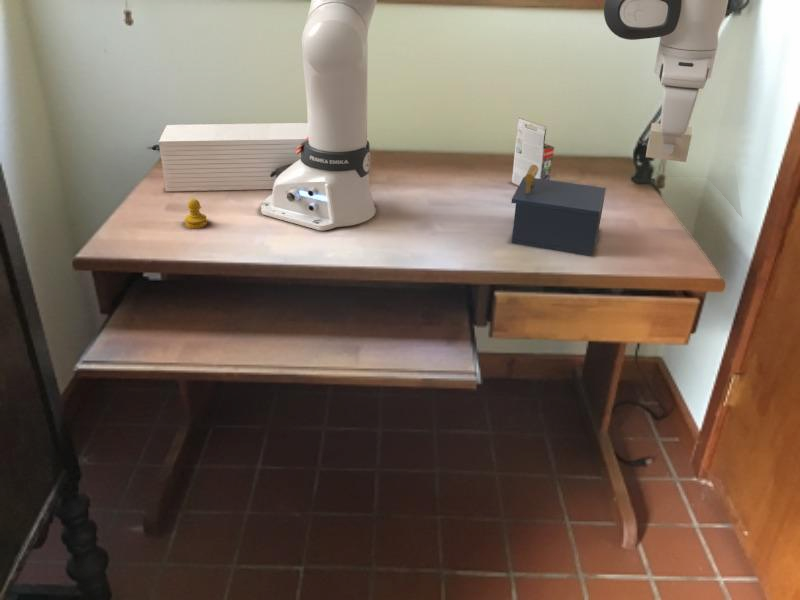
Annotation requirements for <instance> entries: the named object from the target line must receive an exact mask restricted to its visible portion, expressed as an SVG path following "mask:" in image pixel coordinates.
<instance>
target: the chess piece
mask: <svg viewBox="0 0 800 600" xmlns="http://www.w3.org/2000/svg"><path fill="white" fill-rule="evenodd" d="M201 208H202V206H201V203H200V201H199V200H198V199H197V198H192V199H190V200H189V201H188V203H187V210H189V213H188V215H186V216H185V217H184V222H185V226H186V228H189V229H201V228H204V227H205V226H207V224H208V220H207V215H206V214H204V213H201V212H200V209H201Z"/></svg>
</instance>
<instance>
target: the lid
mask: <svg viewBox="0 0 800 600" xmlns="http://www.w3.org/2000/svg"><path fill="white" fill-rule="evenodd" d="M537 172H538V167H537V166H536V165H532V166H530V168H529V170H528V172H527V174H526V176H525V177H523V179H522V181H521V183H520V185H519V186H517V189H516V190H515V193H514V194H513V196H512V198H511V204H515V205H516V204H522V205H529V206H536V207H543V208H550V209H556V210H563V211H570V212H577V213H584V214H590V215H597V216H599V214H600V210H601V206H602V203H603V199H604V200H605V197H604V195H605V196H606V191H607V187H603V186H602V187H601V186H594V185H587V184H582V183H581V184H580V183H575V182H574V183H573V182H565V181H560V180H559V181H558V180H551V179H550V180H544V179H537V178H535V176H536V174H537ZM603 204H604V203H603Z"/></svg>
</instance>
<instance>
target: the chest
mask: <svg viewBox="0 0 800 600" xmlns="http://www.w3.org/2000/svg"><path fill="white" fill-rule="evenodd" d="M605 196H606V194H605V195H604V199H603V203H602V206H601V210H600V214H599V216H597V215H590V214H584V213H577V212H570V211H563V210H556V209H550V208H543V207H536V206H529V205H522V204H516V203H515V207H514V217H513V226H512V234H511V235H512V236H511V244H516V245H521V246H528V247H534V248H539V249H547V250H554V251H559V252H565V253H571V254H576V255H583V256H590V257H592V256H593V255H594V250H595V246H596V243H597V239H598V235H599V231H600V226H601V221H602V215H603V208H604V202H605Z"/></svg>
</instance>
